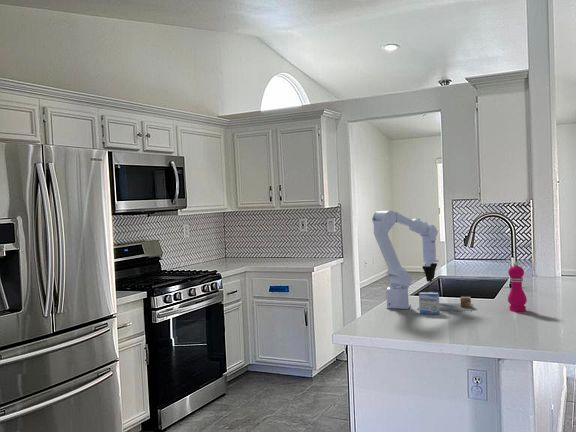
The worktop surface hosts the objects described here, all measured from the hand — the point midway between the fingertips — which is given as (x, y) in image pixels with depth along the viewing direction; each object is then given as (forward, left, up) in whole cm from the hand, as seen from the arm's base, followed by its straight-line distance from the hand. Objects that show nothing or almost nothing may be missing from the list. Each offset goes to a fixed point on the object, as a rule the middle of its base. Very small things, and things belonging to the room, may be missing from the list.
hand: (430, 280), depth 243 cm
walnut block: (+16, -9, -10) cm, 21 cm away
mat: (+7, -10, -10) cm, 16 cm away
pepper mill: (+36, -12, -11) cm, 39 cm away
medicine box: (+2, -23, -11) cm, 25 cm away
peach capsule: (0, -5, -10) cm, 11 cm away
